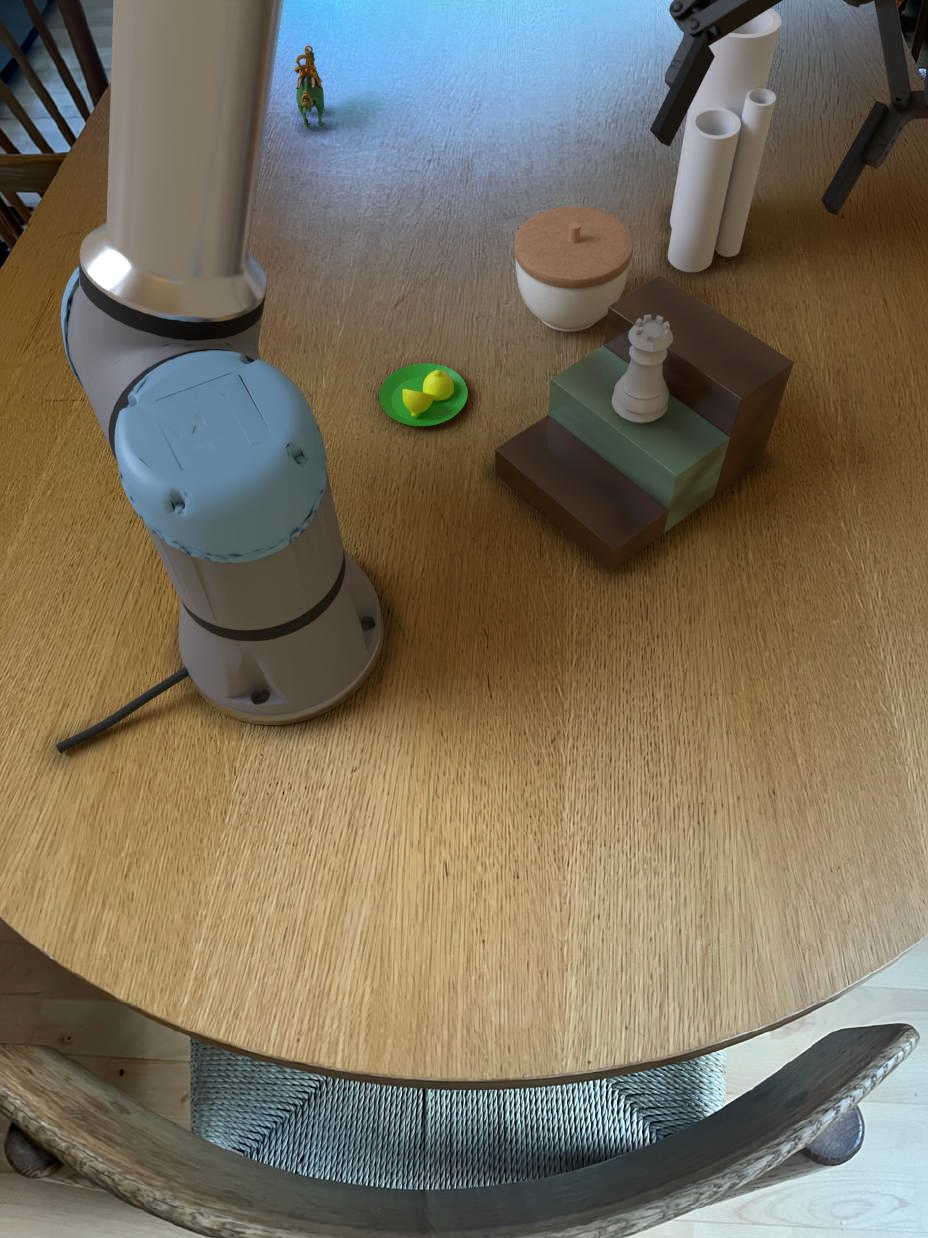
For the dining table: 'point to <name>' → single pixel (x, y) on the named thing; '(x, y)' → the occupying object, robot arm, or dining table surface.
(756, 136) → the vase
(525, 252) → the trinket box
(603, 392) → the step shelf
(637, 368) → the rook chess piece
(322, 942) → the dining table surface
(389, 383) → the green plate with lemons
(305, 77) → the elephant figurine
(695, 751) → the dining table surface
